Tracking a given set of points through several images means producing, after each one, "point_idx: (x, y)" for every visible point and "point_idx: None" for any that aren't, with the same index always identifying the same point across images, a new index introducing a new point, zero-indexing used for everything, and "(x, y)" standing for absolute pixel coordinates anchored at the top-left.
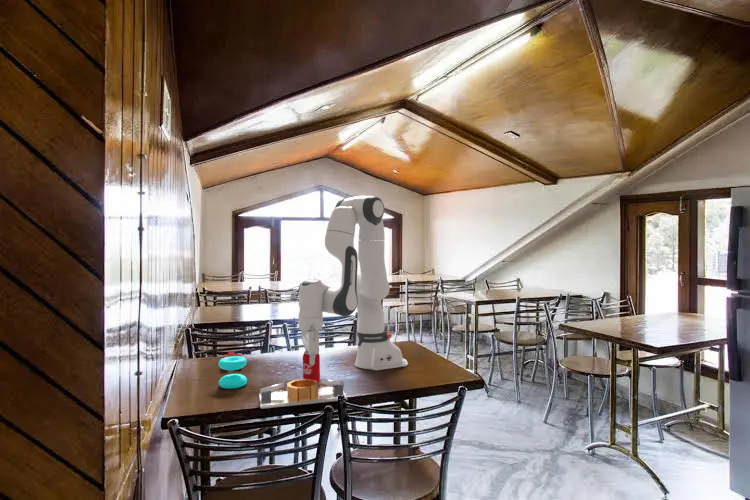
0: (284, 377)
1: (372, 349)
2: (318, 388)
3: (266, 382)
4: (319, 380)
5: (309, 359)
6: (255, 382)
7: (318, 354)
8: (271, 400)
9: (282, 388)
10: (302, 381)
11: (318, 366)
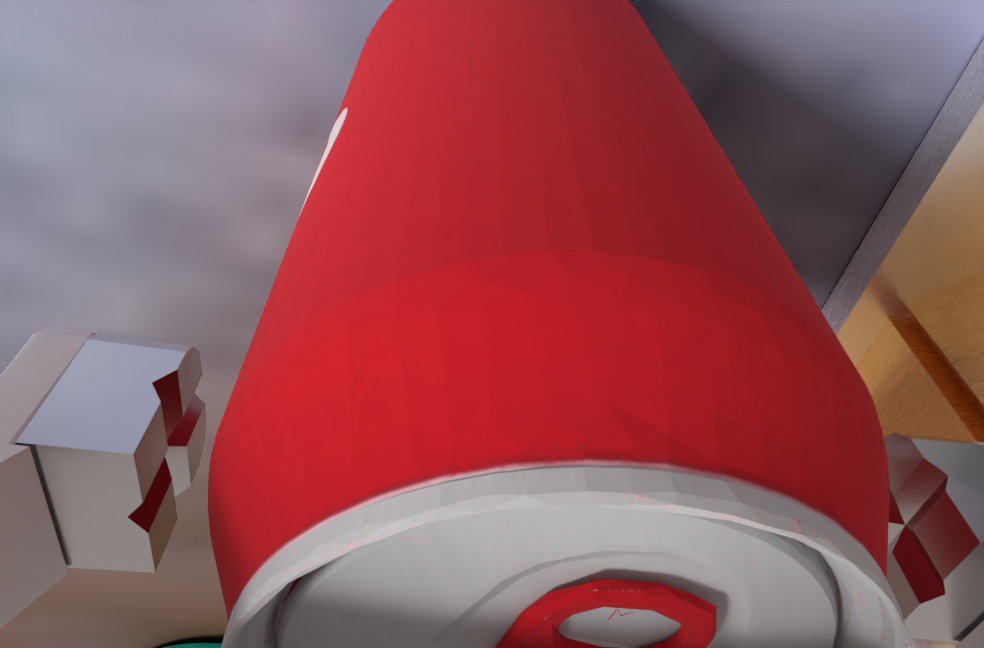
0: (14, 352)
1: None
2: (968, 147)
3: (207, 524)
4: (627, 2)
5: (933, 638)
6: (178, 585)
7: (809, 416)
8: None
9: None
10: None
11: (733, 170)
